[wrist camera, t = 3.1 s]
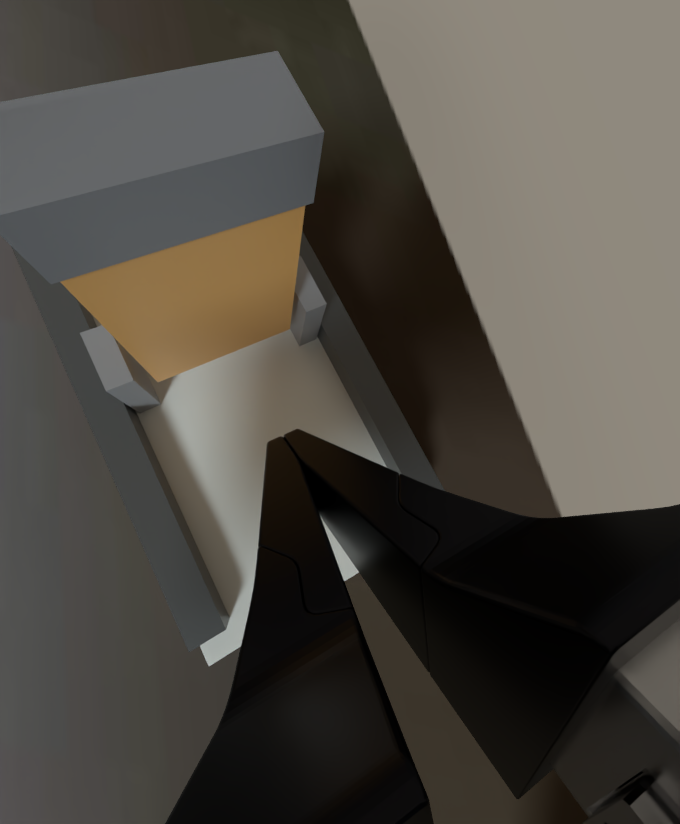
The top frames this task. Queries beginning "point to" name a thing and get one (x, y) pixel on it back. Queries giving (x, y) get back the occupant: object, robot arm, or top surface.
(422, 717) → the top surface
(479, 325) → the top surface
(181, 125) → the lever
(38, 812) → the top surface
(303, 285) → the tray
